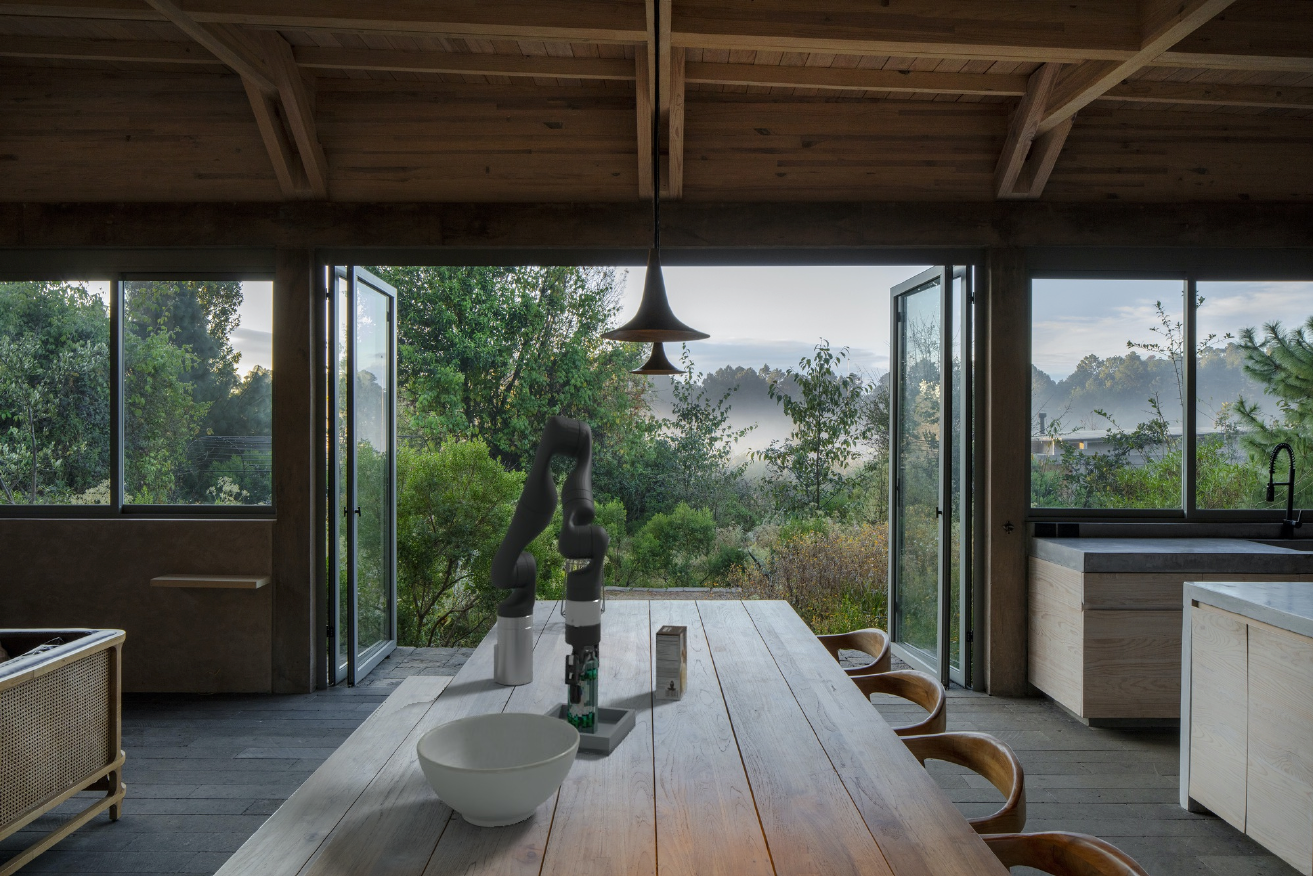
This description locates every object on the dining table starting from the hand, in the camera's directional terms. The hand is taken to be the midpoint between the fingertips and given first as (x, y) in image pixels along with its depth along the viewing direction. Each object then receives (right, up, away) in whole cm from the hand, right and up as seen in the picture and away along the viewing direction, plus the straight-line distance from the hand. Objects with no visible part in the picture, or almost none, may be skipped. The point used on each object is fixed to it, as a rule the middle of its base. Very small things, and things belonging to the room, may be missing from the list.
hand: (582, 697), depth 173 cm
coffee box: (+19, -9, +29) cm, 36 cm away
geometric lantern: (-9, -9, +105) cm, 106 cm away
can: (0, -7, 0) cm, 7 cm away
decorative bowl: (-11, -8, -35) cm, 38 cm away
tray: (0, -8, 0) cm, 8 cm away
